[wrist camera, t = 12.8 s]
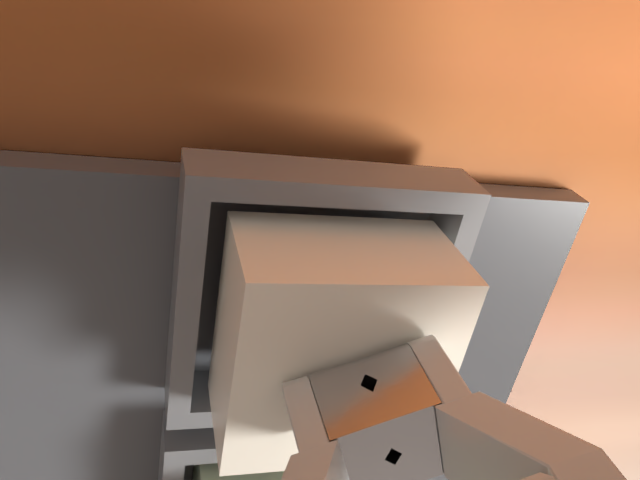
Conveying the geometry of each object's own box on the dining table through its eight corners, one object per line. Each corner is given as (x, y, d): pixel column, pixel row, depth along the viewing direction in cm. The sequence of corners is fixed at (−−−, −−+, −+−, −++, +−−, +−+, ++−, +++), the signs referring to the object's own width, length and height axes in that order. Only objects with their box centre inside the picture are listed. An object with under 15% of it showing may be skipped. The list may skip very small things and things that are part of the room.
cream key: (387, 377, 15) (427, 459, 13) (208, 384, 14) (219, 476, 12) (433, 220, 13) (489, 286, 11) (227, 210, 12) (246, 282, 10)
